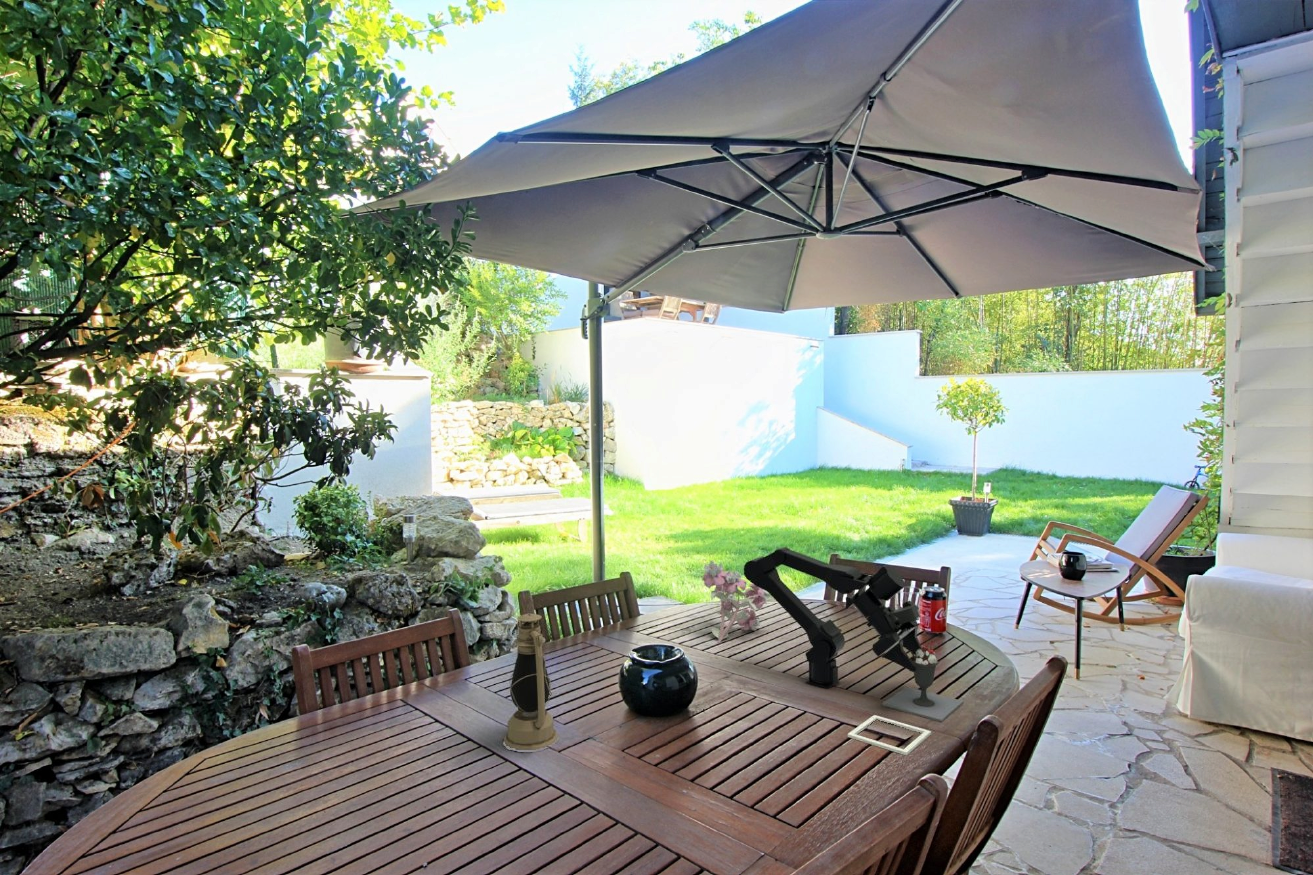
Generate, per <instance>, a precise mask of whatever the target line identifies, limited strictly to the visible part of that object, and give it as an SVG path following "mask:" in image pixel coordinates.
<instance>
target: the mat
mask: <svg viewBox="0 0 1313 875" xmlns="http://www.w3.org/2000/svg"><path fill="white" fill-rule="evenodd" d="M926 694H927V698H928V699H930V700H932V701H934V703H935V704H934V705H933V706H928V707H926V706H920V705H917V704H915V703H914V702H913V699H915V698H920V696H921V689H917V688H913V687H909V686H905V687H904V688H902V689H901V690H900V691H898V692H897V693H895V694H894V695H892V696H891V697H890V698H888V699H887V700H885V701H884V702H882V703H881V706H882V705H883V706H882V707H885V706H887V707H886V708H889V707H890V708H889V709H892V708H895V709H894V710H896V709H897V710H896V711H899V710H901V711H900V712H903V711H905V712H904V713H907V712H908V713H907V714H910V713H912V714H911V715H914V716H918V715H919V716H918V717H921V716H922V717H921V718H925V717H926V718H925V719H929V720H933V721H936V722H941V723H942V722H943V721H944V720H946V719H947V718H949V716H951V714H953V713H954V712H955V711H956V710H958V709H959V708H960V707H961V706H963V704H964V700H961V699H956V698H952V697H949V696H946V695H941V694H937V693H933V692H929V691H926Z"/></svg>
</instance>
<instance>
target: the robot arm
mask: <svg viewBox="0 0 1313 875" xmlns="http://www.w3.org/2000/svg"><path fill="white" fill-rule="evenodd" d="M780 566H785V567H788V568H791V569H793V570H796V571H797V572H800V573H803V574H806V575H809V576H811V577H813V578H816V579H819V580H821V581H822V582H824V583H826V585H827V586H828V587H830V588H831V589H833V590H835V591H836V592H837V593H840V594H842V595H848V596H846V597H845V606H844V608H845V609H847V610H848V609H849V608H850V607H853V606H854V607H855V608H856V609H857V610H858V611H859V613H860V614H861V615H862V616H863V618H865V619H866V621H867V623H866V626H867V627H868V628H873V629H874V631H875V632H876V633H877V634H878V635H879V636H878V640H877V641H875V643H873V644H872V651H873V653H874V654H875V655H876V657H880V658H882V659H886V660H888V661H890V662H893V663H895V664H897V665H899V666H900V667H902V668H904V669H906V670H908V671H910V672H912V673H914V671H915V670H916V667H915V666H914V664H913V662H912V661H911V660H910V657H909V655H908V654H907V652H906V650H907V651H908V652H910V651H912V652H913V654H914V656H916V655H915V654H916V651H917V650H918V649H921V648H923V646H922V644H921V642H920V641H919V638H918V630H919V627H918V619H919V618H921V615H920V612H919V609H920V608H919V606H918V605H916V603H914V602H912V601H911V600H910V599H909V600H908V601H904V602H903V603H902V607H900V608H898V609H894V608H893V607H892V606H886V605H885V604H884V603H883V601H886V602H888V601H890V600H891V599H893V597H895V596H896V595H897V594H899V592H901V591H902V590H903V589H904V588H906V581H905V580H904V579H903V577H902V576H901V575H900V573H898V572H896V571H895V570H894V569H892V568H890V567H889V566H888V565H887V564H885V565H883V566H882V567H881V568H879V569H878V571H877V572H876V573H875V574H873V575H871V574H866V573H863V572H861V571H860V570H859V569H858V568H856V567H853V566H847V565H843V564H830V563H827V562H824V561H822V560H819V559H816V558H813V557H811V556H808V555H805V554H803V553H800V552H797V551H795V550H792V549H790V548H788V547H786V546H782V547H780V548H777V549H775V550H774V551H773V552H771V553H769V554H767V555H765V556H759V557H756V558H754V559H751V560H748V561H747V562H745V564H744V566H743V575H744V577H745V579H746V580H748V581H749V582H750V584H754V585H755V586H757V587H759V588H761V589H763V590H765V591H767V592H768V593H769V594H770V595H769V596H770V597H772V598H773V599H774V600H775V601H776V602H777V603H778V605H780V606H781V607H782V608H783V609H784V610H785V612H786V613H787V614H788V615H789V616H790V617H791V618H792V619H793V620H794V621H795V622H796V623H797V624H798V625H799V626H800V627H801V629H803V630H804V632H805V633H806V635H807V638H808V641H809V644H810V645H811V646H812V648H810V649H809V650H808V651H806V652H805V654H804V655H805V658H806V661H807V662H808V678H807V679H805V683H806V684H810V685H814V686H816V687H821V688H823V689H830V688H831V687H834V685H835V686H836V684H838V683H840V679H839V667H838V666H837V659H835V657H837V656H838V654H839V652H840V651H841V650H843V649H844V647H845V644H846V642H845V636H844V634H843V633H842V632H843V629H841V628H839V627H838V626H837V625H836V624H835V622H834V621H833V620H832V619H828V620H826V621H823V620H821V619H820V618H819V617H818V616H816V614H814V612H813V611H812V610H811V609H810V608H809V607H808V606H807V605H806V604H805V603H804V602H803V601H802V600H801V599H800V598H799V597H798V596H797V595H796V594H795V593H794V592H793V591H792V590H791V589H790V588H789V587H788V586H787V584H785V583H784V581H782V579H781V578H780V575H779V572H778V569H777V568H778V567H780ZM866 587H867V589H865V590H863V589H864V588H866ZM854 591H855V593H854V594H853V595H849V594H851V593H853V592H854ZM914 627H915V628H914ZM904 648H905V649H906V650H904ZM883 653H884V654H883Z"/></svg>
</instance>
